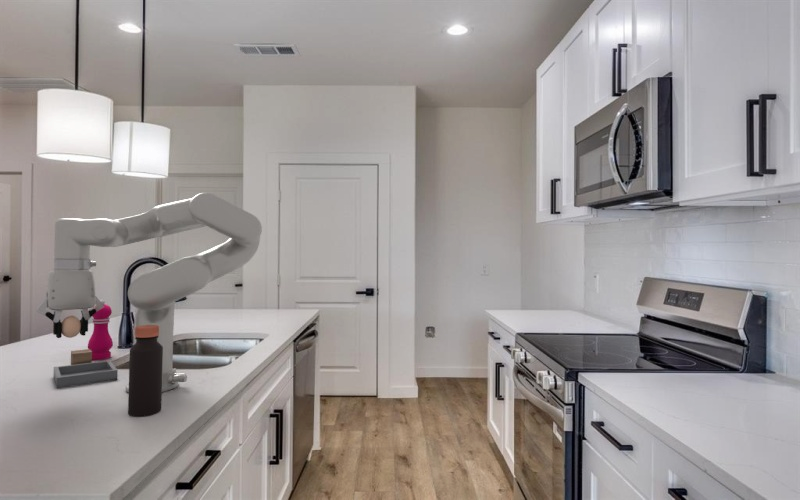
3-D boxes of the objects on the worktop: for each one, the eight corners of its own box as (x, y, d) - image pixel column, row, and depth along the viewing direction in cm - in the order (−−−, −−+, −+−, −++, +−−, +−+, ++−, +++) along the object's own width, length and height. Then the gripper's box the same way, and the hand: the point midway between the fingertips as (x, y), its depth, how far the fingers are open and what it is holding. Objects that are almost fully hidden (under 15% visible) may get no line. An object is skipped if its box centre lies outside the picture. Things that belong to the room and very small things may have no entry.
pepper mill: (116, 357, 156) (118, 299, 156) (93, 361, 150) (95, 301, 150) (106, 354, 160) (107, 298, 160) (83, 358, 154) (85, 299, 154)
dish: (117, 379, 130) (117, 370, 130) (56, 388, 121) (56, 377, 121) (109, 369, 141) (110, 360, 141) (53, 376, 132) (53, 367, 132)
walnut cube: (91, 367, 143) (91, 351, 143) (72, 369, 140) (72, 353, 140) (89, 364, 147) (90, 349, 147) (70, 366, 144) (71, 350, 144)
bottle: (139, 406, 109) (141, 323, 109) (167, 407, 109) (169, 324, 109) (121, 416, 102) (123, 328, 102) (150, 418, 102) (153, 329, 102)
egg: (68, 339, 115) (68, 317, 115) (55, 338, 116) (56, 316, 116) (85, 336, 119) (85, 315, 119) (73, 335, 120) (73, 314, 120)
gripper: (106, 265, 126) (105, 330, 126) (28, 265, 114) (27, 338, 114) (113, 266, 121) (112, 334, 121) (32, 266, 109) (31, 342, 109)
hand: (70, 335), depth 117 cm, fingers closed on egg, 4 cm apart
